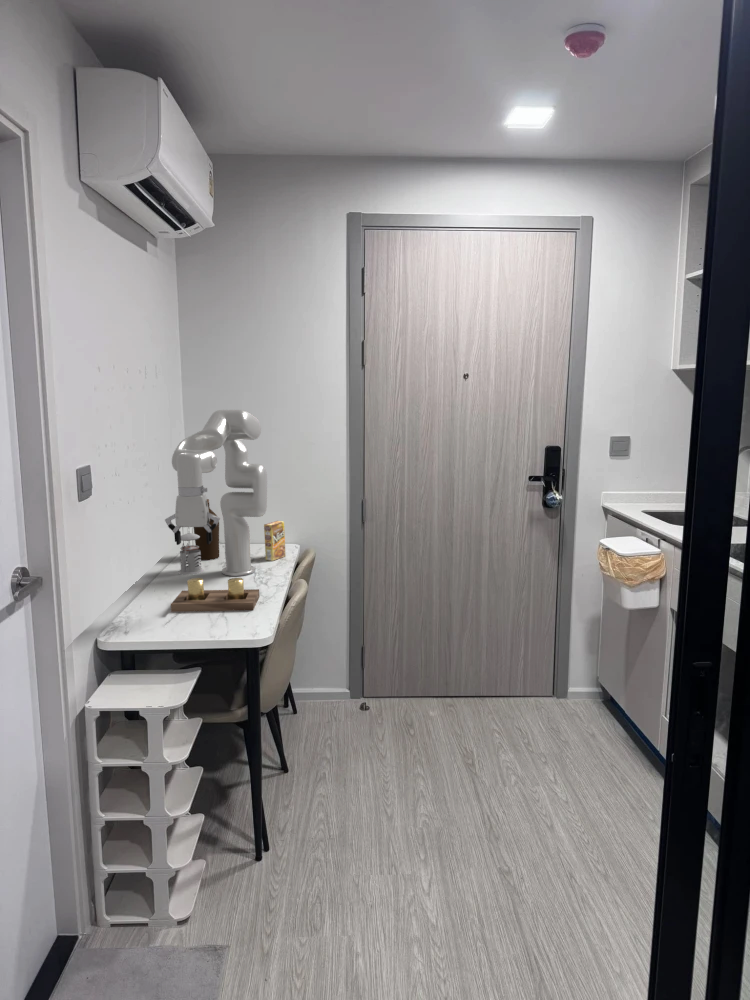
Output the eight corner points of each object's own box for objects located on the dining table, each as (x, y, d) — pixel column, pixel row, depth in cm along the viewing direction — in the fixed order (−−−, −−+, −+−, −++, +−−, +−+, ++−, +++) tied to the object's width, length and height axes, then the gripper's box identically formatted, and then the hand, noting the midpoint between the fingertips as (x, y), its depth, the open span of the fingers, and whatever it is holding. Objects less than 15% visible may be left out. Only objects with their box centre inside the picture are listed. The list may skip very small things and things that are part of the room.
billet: (191, 601, 218) (189, 578, 216) (206, 600, 218) (204, 577, 217) (187, 606, 213) (185, 582, 212) (203, 605, 213) (201, 582, 212)
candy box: (273, 561, 271) (271, 525, 269) (264, 560, 274) (263, 524, 271) (286, 556, 279) (284, 521, 276) (278, 555, 281) (276, 520, 278)
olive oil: (225, 555, 282) (222, 498, 278) (212, 561, 272) (209, 502, 268) (203, 553, 285) (200, 497, 281) (190, 559, 275) (186, 501, 271)
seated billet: (230, 601, 218) (229, 577, 217) (245, 600, 218) (244, 577, 217) (227, 606, 213) (226, 582, 212) (243, 605, 214) (242, 582, 212)
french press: (207, 568, 262) (204, 506, 258) (197, 576, 251) (193, 512, 246) (184, 567, 263) (180, 506, 259) (172, 576, 252) (168, 512, 247)
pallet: (182, 600, 222) (182, 590, 222) (259, 599, 223) (259, 589, 223) (171, 614, 209) (170, 604, 208) (253, 613, 209) (253, 602, 209)
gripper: (220, 489, 213) (223, 540, 216) (166, 490, 213) (170, 541, 216) (215, 493, 206) (218, 546, 209) (159, 494, 205) (163, 547, 208)
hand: (193, 543), depth 212 cm, fingers open, 9 cm apart
